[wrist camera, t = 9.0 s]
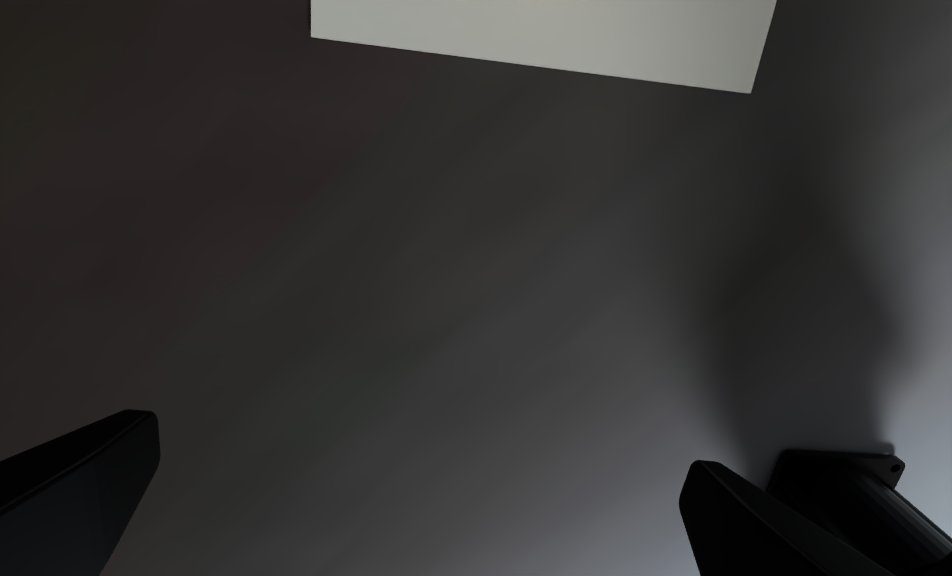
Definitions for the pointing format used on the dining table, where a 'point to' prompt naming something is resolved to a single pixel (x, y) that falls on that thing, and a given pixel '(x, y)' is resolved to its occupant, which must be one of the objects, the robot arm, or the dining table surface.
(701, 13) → the white flat rectangular panel
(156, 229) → the dining table surface
